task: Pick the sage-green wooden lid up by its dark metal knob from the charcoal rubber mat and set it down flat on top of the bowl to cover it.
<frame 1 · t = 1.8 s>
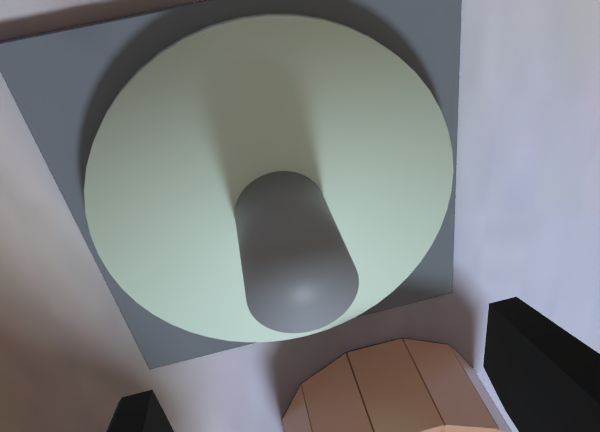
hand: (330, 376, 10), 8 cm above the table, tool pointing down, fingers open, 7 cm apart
bowl: (380, 410, 25), on the table
mat: (275, 194, 17), on the table
lid: (276, 199, 17), resting on mat
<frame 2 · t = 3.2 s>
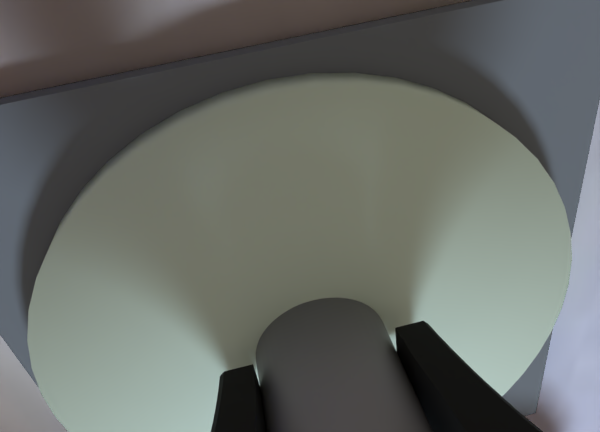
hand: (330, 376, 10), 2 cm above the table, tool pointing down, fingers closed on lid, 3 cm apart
mat: (311, 311, 12), on the table
lid: (314, 322, 12), resting on mat, touching gripper
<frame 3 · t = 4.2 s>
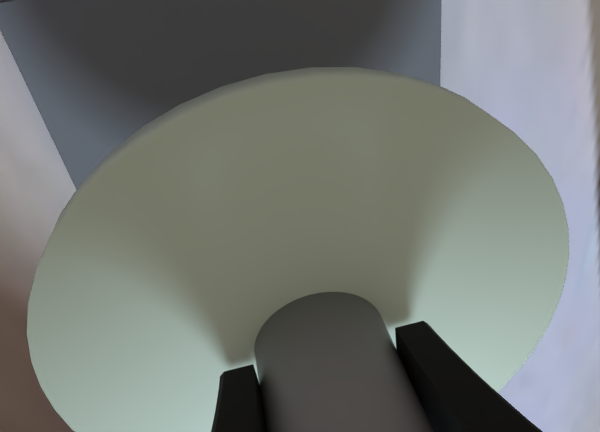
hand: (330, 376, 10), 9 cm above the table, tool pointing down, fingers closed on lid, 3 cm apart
mat: (264, 158, 18), on the table
lid: (312, 316, 12), point 8 cm above the table, touching gripper
when the fingers open (7 cm above the table, at t = 5.7 s): lid drops 1 cm, resting on bowl.
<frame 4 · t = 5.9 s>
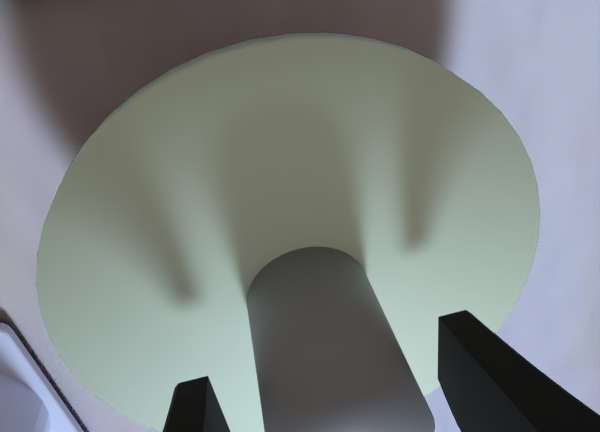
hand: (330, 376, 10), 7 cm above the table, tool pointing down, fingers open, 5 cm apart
lid: (302, 275, 13), point 4 cm above the table, touching bowl
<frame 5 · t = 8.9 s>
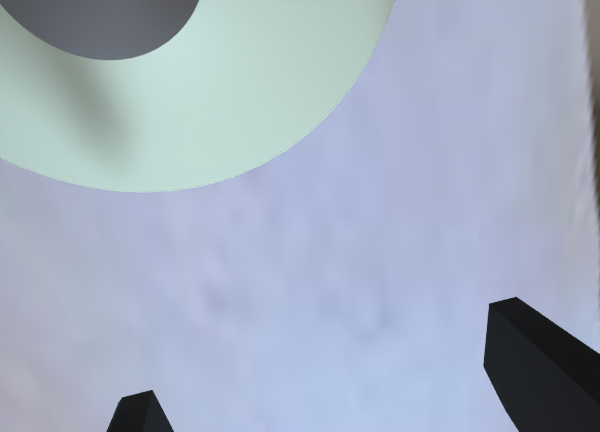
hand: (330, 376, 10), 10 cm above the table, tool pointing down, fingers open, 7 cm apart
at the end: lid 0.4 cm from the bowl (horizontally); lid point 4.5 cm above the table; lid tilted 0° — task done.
